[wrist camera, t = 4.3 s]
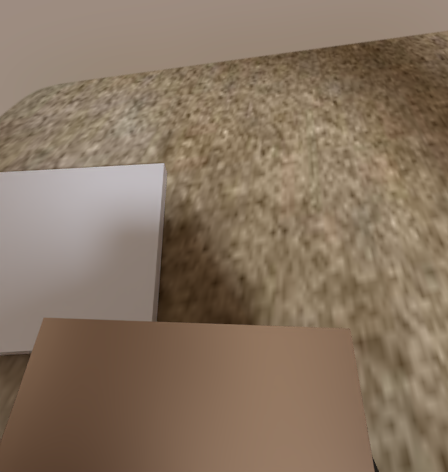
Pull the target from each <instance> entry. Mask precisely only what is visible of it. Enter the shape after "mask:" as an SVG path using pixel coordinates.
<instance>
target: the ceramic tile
mask: <svg viewBox="0 0 448 472" xmlns="http://www.w3.org/2000/svg"><path fill="white" fill-rule="evenodd" d="M166 181H167V171H166V168H165V165H164V163H160V164H142V165H124V166H106V167H88V168H70V169H52V170H33V171H15V172H0V355H14V354H31V353H32V350H33V347H34V344H35V341H36V338H37V335H38V333H39V330H40V327H41V324H42V321H43V318H70V319H97V320H125V321H152V322H157V312H158V298H159V283H160V269H161V254H162V239H163V225H164V210H165V196H166Z"/></svg>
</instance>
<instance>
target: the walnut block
mask: <svg viewBox="0 0 448 472" xmlns="http://www.w3.org/2000/svg"><path fill="white" fill-rule="evenodd" d="M0 472H375V471H374V465H373V459H372V453H371V448H370V442H369V436H368V430H367V424H366V418H365V412H364V407H363V401H362V395H361V389H360V383H359V377H358V372H357V366H356V360H355V354H354V348H353V342H352V336H351V331H350V329H345V328H317V327H290V326H262V325H235V324H207V323H180V322H152V321H125V320H97V319H70V318H43V321H42V324H41V327H40V330H39V333H38V335H37V338H36V341H35V344H34V347H33V350H32V353H31V356H30V358H29V361H28V364H27V367H26V370H25V373H24V376H23V379H22V382H21V384H20V387H19V390H18V393H17V396H16V399H15V402H14V405H13V408H12V410H11V413H10V416H9V419H8V422H7V425H6V428H5V431H4V433H3V436H2V439H1V442H0Z"/></svg>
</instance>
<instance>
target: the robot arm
mask: <svg viewBox="0 0 448 472" xmlns="http://www.w3.org/2000/svg"><path fill="white" fill-rule="evenodd" d="M372 459H373V457H372ZM373 465H374V471H375V472H379V471H378V469H377V466H376V464H375V462H374V460H373Z"/></svg>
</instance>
